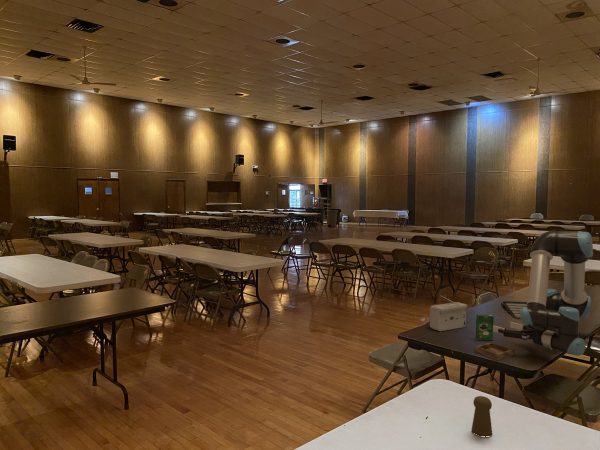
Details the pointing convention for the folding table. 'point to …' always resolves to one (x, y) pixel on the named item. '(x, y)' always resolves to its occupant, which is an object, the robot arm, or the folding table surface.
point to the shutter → (514, 307)
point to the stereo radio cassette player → (448, 316)
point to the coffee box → (484, 327)
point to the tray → (494, 351)
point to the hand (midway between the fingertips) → (502, 326)
